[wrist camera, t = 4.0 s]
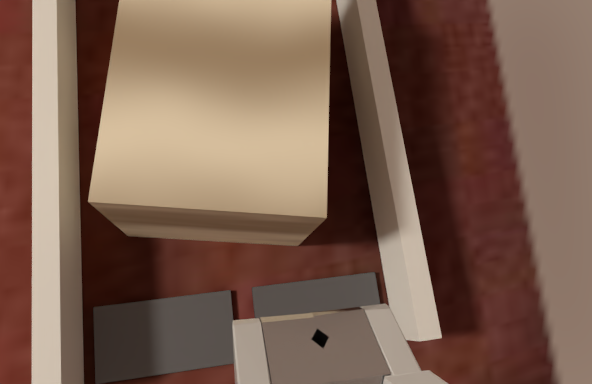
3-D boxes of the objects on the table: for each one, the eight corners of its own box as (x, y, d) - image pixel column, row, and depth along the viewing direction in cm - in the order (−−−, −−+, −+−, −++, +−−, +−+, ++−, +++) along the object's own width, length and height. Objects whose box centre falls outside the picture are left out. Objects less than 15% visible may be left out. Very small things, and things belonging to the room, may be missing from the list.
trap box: (414, 335, 23) (452, 338, 19) (59, 389, 20) (20, 406, 16) (341, -64, 28) (359, -124, 24) (54, -66, 26) (24, -133, 22)
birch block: (297, 246, 23) (326, 217, 17) (128, 236, 22) (87, 202, 16) (304, 32, 26) (332, -65, 20) (157, 14, 25) (133, -94, 19)
